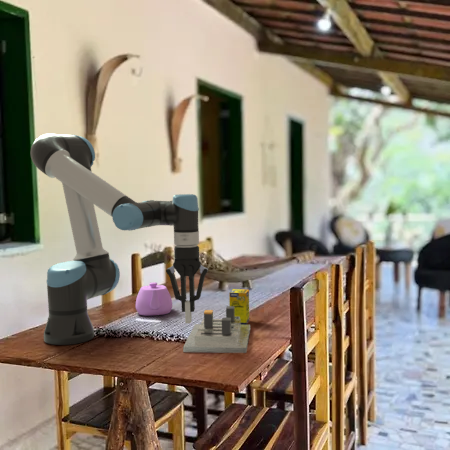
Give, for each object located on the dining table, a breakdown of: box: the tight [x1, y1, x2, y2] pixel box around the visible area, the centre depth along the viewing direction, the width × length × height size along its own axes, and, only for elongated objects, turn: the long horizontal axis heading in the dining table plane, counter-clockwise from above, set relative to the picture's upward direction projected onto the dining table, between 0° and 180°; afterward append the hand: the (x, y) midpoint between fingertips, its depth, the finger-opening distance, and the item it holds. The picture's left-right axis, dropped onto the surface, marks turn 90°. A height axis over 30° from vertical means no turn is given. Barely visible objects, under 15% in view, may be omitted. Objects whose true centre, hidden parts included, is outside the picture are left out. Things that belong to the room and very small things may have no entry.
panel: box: [182, 318, 251, 354], centre depth 174 cm, size 18×24×4 cm
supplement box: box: [228, 288, 250, 325], centre depth 193 cm, size 6×6×11 cm
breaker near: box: [221, 317, 231, 334], centre depth 167 cm, size 2×3×4 cm
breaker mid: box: [203, 309, 214, 327], centre depth 174 cm, size 2×3×4 cm
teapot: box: [135, 282, 173, 316], centre depth 208 cm, size 13×20×11 cm
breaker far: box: [225, 305, 235, 321], centre depth 180 cm, size 2×3×4 cm
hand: (188, 322), depth 175 cm, fingers closed
